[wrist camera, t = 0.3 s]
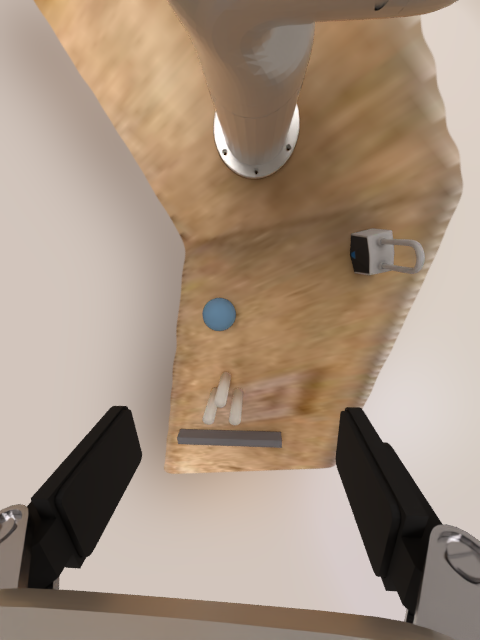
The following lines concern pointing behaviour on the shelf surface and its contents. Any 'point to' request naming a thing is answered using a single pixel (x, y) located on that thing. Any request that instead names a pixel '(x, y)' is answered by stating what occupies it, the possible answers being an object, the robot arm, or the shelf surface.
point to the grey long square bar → (230, 438)
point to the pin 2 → (236, 407)
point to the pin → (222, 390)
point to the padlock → (380, 252)
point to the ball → (219, 314)
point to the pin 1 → (210, 408)
